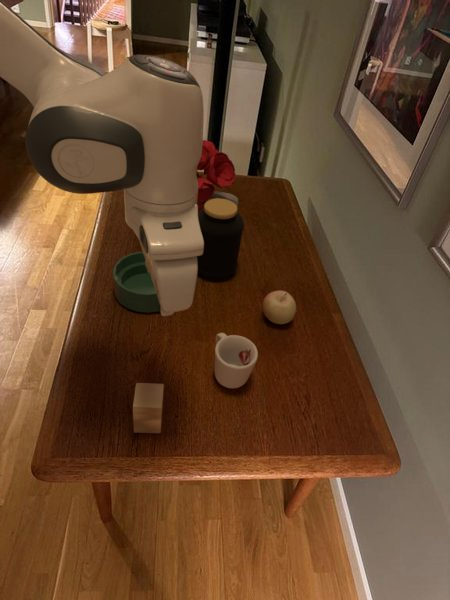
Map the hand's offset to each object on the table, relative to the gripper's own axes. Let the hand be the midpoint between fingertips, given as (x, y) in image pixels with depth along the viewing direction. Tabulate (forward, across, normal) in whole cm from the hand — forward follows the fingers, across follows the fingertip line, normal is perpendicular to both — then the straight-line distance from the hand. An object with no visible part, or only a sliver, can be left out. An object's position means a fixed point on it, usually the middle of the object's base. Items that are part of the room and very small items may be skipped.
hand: (158, 290), depth 59 cm
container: (+24, -32, +22) cm, 45 cm away
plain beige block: (+24, +7, -3) cm, 25 cm away
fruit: (+24, -11, +30) cm, 40 cm away
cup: (+24, 0, +14) cm, 28 cm away
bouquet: (+24, -56, +23) cm, 65 cm away
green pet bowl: (+24, -26, +4) cm, 35 cm away
